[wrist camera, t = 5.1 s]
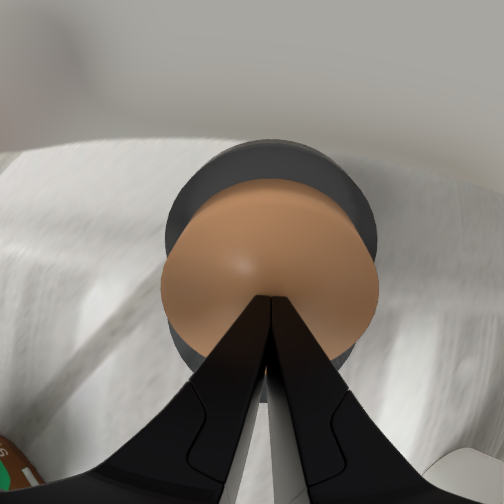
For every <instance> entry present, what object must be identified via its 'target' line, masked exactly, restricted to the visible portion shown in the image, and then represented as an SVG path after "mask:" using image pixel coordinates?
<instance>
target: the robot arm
mask: <svg viewBox="0 0 504 504" xmlns="http://www.w3.org/2000/svg"><path fill="white" fill-rule="evenodd" d="M265 371H266V387H267V401H268V415H269V429H270V444H271V458H272V473H273V488H274V503H275V504H484V503H480V502H477V501H474V500H471V499H468V498H465V497H462V496H459V495H456V494H453V493H450V492H448V491H445V490H443V489H440V488H438V487H436V486H435V485H433V484H431V483H430V482H428V481H427V480H426V479H425V478H423V477H422V476H421V475H420V474H419V473H418V472H417V471H416V470H415V469H414V468H413V467H412V465H411V464H410V463H409V462H408V461H407V460H406V459H405V458H404V457H403V455H402V454H401V453H400V452H399V451H398V450H397V449H396V448H395V447H394V445H393V444H392V443H391V442H390V441H389V440H388V439H387V438H386V436H385V435H384V434H383V433H382V432H381V431H380V429H379V428H378V427H377V426H376V425H375V423H374V422H373V421H372V420H371V418H370V417H369V416H368V414H367V413H366V412H365V410H364V409H363V407H362V406H361V405H360V403H359V402H358V400H357V399H356V397H355V396H354V394H353V393H352V391H351V390H348V389H349V387H348V386H347V384H346V383H345V381H344V380H343V378H342V377H341V375H340V374H339V372H338V371H337V369H336V368H335V366H334V365H333V363H332V362H331V360H330V359H329V357H328V356H327V355H326V353H325V352H324V350H323V349H322V347H321V346H320V344H319V343H318V341H317V340H316V338H315V337H314V335H313V334H312V332H311V331H310V329H309V328H308V326H307V325H306V324H305V322H304V321H303V319H302V318H301V316H300V315H299V313H298V312H297V310H296V309H295V307H294V306H293V304H292V303H291V301H290V300H289V299H288V297H286V296H272V297H270V296H269V295H255V296H254V297H253V298H252V300H251V301H250V302H249V303H248V305H247V306H246V307H245V309H244V310H243V311H242V313H241V314H240V315H239V316H238V318H237V319H236V320H235V322H234V323H233V324H232V325H231V327H230V328H229V329H228V331H227V332H226V333H225V334H224V336H223V337H222V338H221V339H220V341H219V342H218V343H217V345H216V346H215V347H214V348H213V350H212V351H211V352H210V353H209V355H208V356H207V357H206V358H205V360H204V361H203V362H202V363H201V365H200V366H199V367H198V368H197V370H196V371H195V372H194V373H193V375H192V376H191V377H190V378H189V382H188V381H187V382H186V383H185V384H184V385H183V387H182V388H181V389H180V390H179V392H178V393H177V394H176V395H175V396H174V397H173V398H172V400H171V401H170V402H169V403H168V404H167V405H166V406H165V407H164V409H162V410H161V411H160V412H159V413H158V414H157V415H156V416H155V417H154V418H153V419H152V420H151V421H150V422H149V423H148V424H147V425H146V426H145V427H144V428H142V429H141V430H140V431H139V432H138V433H137V434H136V435H134V436H133V437H132V438H131V439H130V440H129V441H128V442H126V443H125V444H124V445H123V446H122V447H121V448H119V449H118V450H117V451H116V452H115V453H114V454H112V455H111V456H110V457H109V458H107V459H106V460H105V461H104V462H102V463H101V464H99V465H98V466H96V467H94V468H93V469H91V470H89V471H86V472H84V473H82V474H79V475H75V476H72V477H69V478H65V479H61V480H57V481H54V482H50V483H45V484H41V485H36V486H32V487H27V488H21V489H16V490H10V491H5V490H3V489H1V488H0V504H235V502H236V498H237V494H238V490H239V486H240V483H241V479H242V475H243V471H244V467H245V463H246V458H247V454H248V450H249V446H250V442H251V437H252V433H253V429H254V424H255V420H256V416H257V411H258V407H259V402H260V397H261V393H262V388H263V383H264V378H265Z"/></svg>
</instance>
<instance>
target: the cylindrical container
mask: <svg viewBox="0 0 504 504" xmlns="http://www.w3.org/2000/svg"><path fill="white" fill-rule="evenodd" d="M422 477H423V478H425V479H426V480H427V481H428V482H430V483H431V484H433V485H435V486H436V487H438V488H440V489H443V490H445V491H448V492H450V493H453V494H456V495H459V496H462V497H465V498H468V499H471V500H474V501H477V502H480V503H484V504H504V462H503V461H501V460H498V459H496V458H493V457H491V456H489V455H486V454H484V453H482V452H479V451H477V450H475V449H473V448H466V447H465V448H460V449H457V450H455V451H452V452H450V453H449V454H447V455H445V456H444V457H442V458H441V459H440V460H438V461H437V462H436V463H434V464H433V465H432V466H431V467H430V468H429V469H428V470H427V471H426V472H425V473H424V474H423V475H422Z"/></svg>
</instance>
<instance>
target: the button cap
mask: <svg viewBox="0 0 504 504" xmlns="http://www.w3.org/2000/svg"><path fill="white" fill-rule="evenodd" d="M255 295H269V296H270V297H272V296H286V297H288V299H289V300H290V301H291V303H292V304H293V306H294V307H295V309H296V310H297V312H298V313H299V315H300V316H301V318H302V319H303V321H304V322H305V324H306V325H307V326H308V328H309V329H310V331H311V332H312V334H313V335H314V337H315V338H316V340H317V341H318V343H319V344H320V346H321V347H322V349H323V350H324V352H325V353H326V355H327V356H328V357H329V359H330V360H332V359H334V358H336V357H338V356H339V355H341V354H342V353H343V352H345V351H346V350H348V349H349V348H350V347H351V346H352V345H353V344H354V343H355V342H356V341H357V340H358V339H359V338H360V337H361V336H362V334H363V333H364V332H365V330H366V329H367V327H368V326H369V324H370V322H371V320H372V318H373V316H374V314H375V310H376V307H377V303H378V296H379V281H378V276H377V271H376V268H375V265H374V263H373V260H372V258H371V256H370V254H369V252H368V250H367V248H366V246H365V244H364V243H363V241H362V239H361V237H360V235H359V233H358V232H357V230H356V228H355V226H354V225H353V223H352V221H351V220H350V218H349V217H348V215H347V214H346V212H345V211H344V210H343V209H342V208H341V207H340V206H339V205H338V204H337V203H336V202H335V201H334V200H332V199H331V198H330V197H329V196H327V195H325V194H324V193H322V192H321V191H319V190H317V189H315V188H313V187H310V186H308V185H306V184H302V183H299V182H295V181H292V180H284V179H256V180H249V181H245V182H242V183H238V184H235V185H233V186H230V187H228V188H226V189H224V190H222V191H220V192H219V193H217V194H215V195H214V196H212V197H211V198H210V199H209V200H207V201H206V202H205V203H204V204H203V205H202V206H201V207H200V208H199V209H198V210H197V211H196V212H195V214H194V215H193V217H192V218H191V220H190V221H189V223H188V225H187V226H186V228H185V229H184V231H183V233H182V234H181V236H180V237H179V239H178V241H177V242H176V244H175V246H174V247H173V249H172V251H171V252H170V254H169V256H168V258H167V260H166V263H165V265H164V268H163V273H162V277H161V297H162V303H163V306H164V310H165V313H166V315H167V317H168V319H169V321H170V323H171V325H172V326H173V328H174V329H175V331H176V332H177V333H178V334H179V336H180V337H181V338H182V339H183V340H184V341H185V342H186V343H187V344H188V345H189V346H190V347H191V348H193V349H194V350H195V351H197V352H198V353H199V354H201V355H203V356H204V357H207V356H208V355H209V353H210V352H211V351H212V350H213V348H214V347H215V346H216V345H217V343H218V342H219V341H220V339H221V338H222V337H223V336H224V334H225V333H226V332H227V331H228V329H229V328H230V327H231V325H232V324H233V323H234V322H235V320H236V319H237V318H238V316H239V315H240V314H241V313H242V311H243V310H244V309H245V307H246V306H247V305H248V303H249V302H250V301H251V300H252V298H253V297H254V296H255ZM265 375H266V371H265Z"/></svg>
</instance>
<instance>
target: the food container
mask: <svg viewBox="0 0 504 504" xmlns="http://www.w3.org/2000/svg"><path fill="white" fill-rule="evenodd" d="M41 484H45V482H44V481H43V479H42V478H41V476H40V475H39V473H38V472H37V470H36V469H35V467H34V466H33V465H32V464H31V462H30V461H29V460H28V459H27V458H26V456H25V455H24V454H23V453H22V452H21V451H20V450H19V449H18V448H17V447H16V446H15V445H14V444H13V443H12V442H11V441H10V440H8V439H7V438H5V437H4V436H2V435H0V488H1V489H3V490H5V491H10V490H16V489H21V488H27V487H32V486H36V485H41Z"/></svg>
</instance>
